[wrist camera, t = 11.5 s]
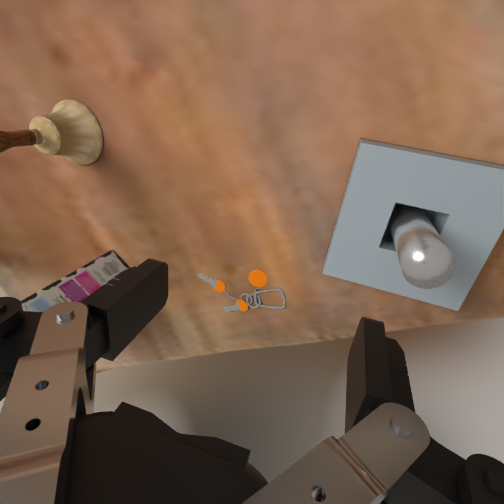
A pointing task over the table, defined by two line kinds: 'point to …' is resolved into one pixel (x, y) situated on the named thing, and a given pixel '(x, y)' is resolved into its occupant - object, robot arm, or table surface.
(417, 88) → the table surface
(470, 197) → the bore block
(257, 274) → the key chain
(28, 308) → the candy bar box
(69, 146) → the hand bell
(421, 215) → the pin
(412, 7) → the table surface
